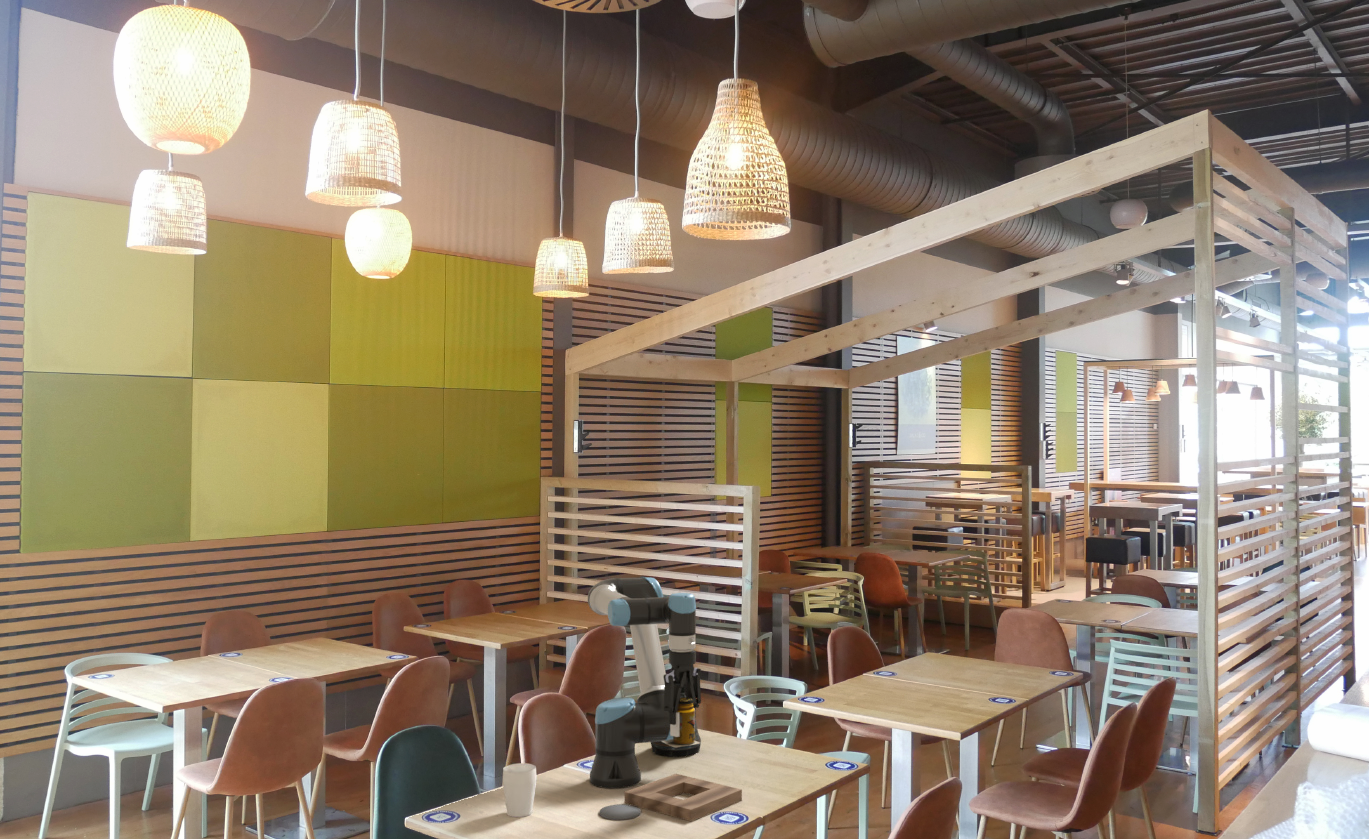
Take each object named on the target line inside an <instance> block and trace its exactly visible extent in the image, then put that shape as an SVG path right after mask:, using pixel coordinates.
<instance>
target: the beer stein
mask: <svg viewBox="0 0 1369 839" xmlns="http://www.w3.org/2000/svg"><path fill="white" fill-rule="evenodd" d="M678 685H679V684H678ZM680 697H686V694H685V690H684V686H683V688H682V689H681V694H680ZM694 741H697V742H700V743H699V744H694V745H688V746H681V747H677V748H675V747H672V746H669V745H667V744H665V743H663V742H662V741H659V742H650V745H651V751H652V753H653V754H654V755H657V756H660V757H665V758H685V756H686V757H691V756H694V754H695V755H696V753H697V754H699V752H700V750H701V745H702V740H701V736H700V734H699V730H698V726H697V720H696V718H695V740H694Z"/></svg>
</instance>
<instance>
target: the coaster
mask: <svg viewBox="0 0 1369 839" xmlns="http://www.w3.org/2000/svg"><path fill="white" fill-rule="evenodd" d="M598 812H599V816H600V817H601V818H603V819H605V820H609V821H611V820H612V821H627V820H632V819H635V818H637V817H639V816H640V815H641V813H642V810H641V807H637V806H634V805H630V804H627V803H623V804H622V803H620V804H618V803H617V804H609V805H607V806H604V807H602V808H601V809H599V811H598Z"/></svg>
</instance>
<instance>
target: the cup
mask: <svg viewBox="0 0 1369 839" xmlns="http://www.w3.org/2000/svg"><path fill="white" fill-rule="evenodd" d="M502 771H503V772H502V785H503V787H502V788H503V793H504V794H503V795H504V801H505V807H506V808H505V809H506V815H508V816H509V817H511V818H512V817H513V818H525V817H528V816H530V815H531V814H532V813H533V808H534V802H535V801H534V800H535V794H536V793H535V792H536V786H537V778H538V777H537V767H536V765H534V764H533V763H526V762H524V763H520V762H519V763H512V764H509V765H506V766H504V767H503V770H502Z"/></svg>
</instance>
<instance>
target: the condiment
mask: <svg viewBox="0 0 1369 839" xmlns="http://www.w3.org/2000/svg"><path fill="white" fill-rule="evenodd" d="M677 712H679V737H675V736H673V739H671V740H666V741H662V742H663V743H665V744H667V745H669V746H672V747H675V748H677V747H681V746H688V745H694V744H699V743H700V742H697V741H694V740H695V719H696V718H695V710H694V708H693V699H692V698H688V697H680V699H679V705H678V710H677Z"/></svg>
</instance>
